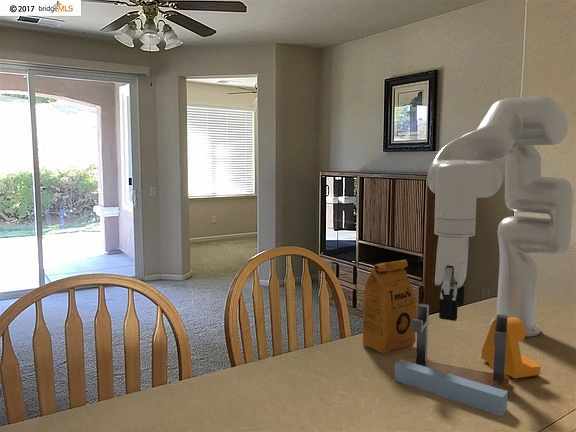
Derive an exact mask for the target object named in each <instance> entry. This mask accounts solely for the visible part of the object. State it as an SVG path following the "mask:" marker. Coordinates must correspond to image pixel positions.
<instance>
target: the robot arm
mask: <svg viewBox="0 0 576 432" xmlns="http://www.w3.org/2000/svg"><path fill="white" fill-rule="evenodd" d="M568 128H569V123H568V118H567V115H566V112H565V111H564V110H563V109H562V107H561V106H560V105H559V103H558V102H557V101H555V100H554V99H553V98H551V97H549V96H545V95H534V96H533V95H532V96H521V97H519V96H518V97H508V98H503V99H499V100H497V101H496V102H493V104H492V105H491V106H490V108H489V109H488V111H487V112H486V114H485V115H484V117H483V118H482V120H481V122H480V124H479V125H478V126H477V128H476V129H475V130H472V131H471V132H468V133H465V134H464V135H462V136H460V137H458V138H456V139H454V140H452V141H450V142H448V143H447V144H446V145H445V146H443V147H442V148H441V149H440V150H439V152H438V153H437V154H436V156H435V158H433V161H432V162H431V165H430V166H429V168H428V171H427V187H428V188H429V190H430V191H431V192H432V193H433V194H435V197H434V198H435V199H434V231H433V233H434V235H435V236H438V238H437V246H436V259H435V260H436V261H435V271H434V272H435V275H434V285H435V286H436V287H439V286H440V285H441V287H440V288H441V290H440V294H439V309H438V311H439V312H438V313H439V314H438V318H439V319H440V320H444V321H451V322H456V321H457V319H458V306H463V305H464V303H465V285H464V282H465V280H466V277H467V272H468V263H469V243H470V242H469V239H470V237H471V238H472V237H475V236H476V222H477V217H476V216H477V201H478V200H477V199H479V198H481V199H486V198H490V197H492V196H494V195H496V194H497V192H498V191H499V190H500V188H501V187H502V184H503V178H505V179H504V203H505V207H506V208H507V209H509V210H511V211H513V212H521V213H529V214H530V213H532V214H546V215H548V216H549V217H550V218H547V217H546V218H545V217H536V216H524V215H523V216H522V215H513V216H512V215H511V216H507V217H505V218H503V219H502V220H501V221H500V222H499V223H498V227H497V240H498V248H499V249H498V250H499V264H498V265H499V269H498V270H499V271H498V285H497V287H498V288H497V300H496V303H497V304H496V315H497V314H499V315H506V316H508V318H512V317H516V318H519V319H520V320H521V321H522V322H523V324H524V326H525V330H526V335H525V338H526V337H535V336H537V335H539V334H541V333H540V332H541V327H540V326H539V325H538V324H536V323H535V317H536V316H535V315H536V299H537V286H538V285H537V284H538V266H537V264H536V262H535V260H534V258H533V257H532V256H531V254H540V255H547V256H564V255H565V254H566V253H568V251H569V249H570V246H571V240H572V227H573V224H572V223H573V205H574V203H573V202H574V194H573V193H574V192H573V191H574V190H573V188H572V184H571V183H570V181H569V180H568V179H566V178H563V177H555V176H554V177H552V176H542V157H541V154H540V152H539V151H538V149H537V148H536V147H535V146H554V145H558V144H561V143H562V142H563V141H564V140H565V139H566V137H567V133H568V131H569V130H568ZM503 157H504V160H505V174H504V175H505V177H504V176H503V172H502V170H501V168H500V166H499V165H498V164H497V163H496V162H494V161H495V160H498V159H501V158H503ZM495 319H497V316H496V317H495V318H492V319H491V320H490V321H489V326H490V327H491V324H492V322H493V321H494V320H495Z"/></svg>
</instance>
